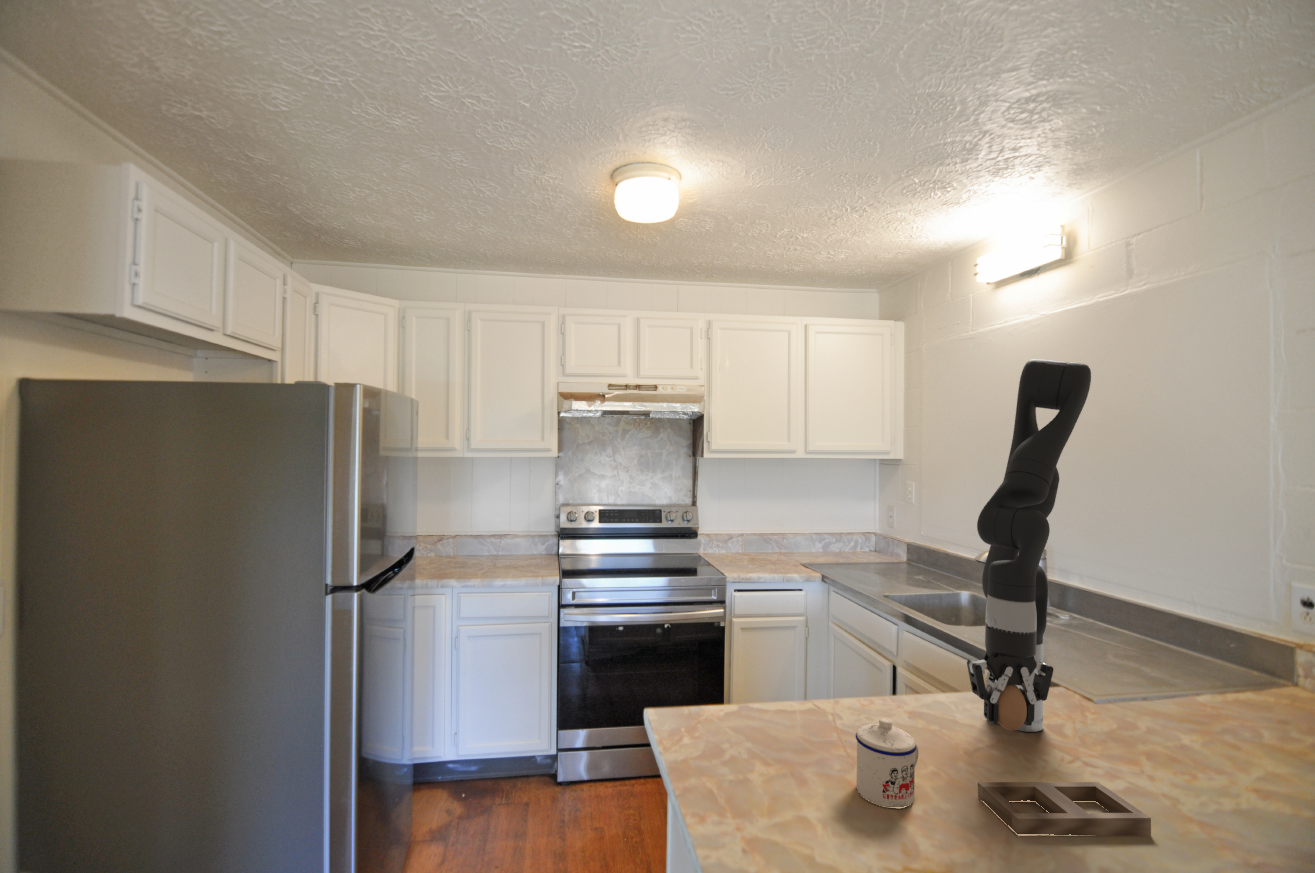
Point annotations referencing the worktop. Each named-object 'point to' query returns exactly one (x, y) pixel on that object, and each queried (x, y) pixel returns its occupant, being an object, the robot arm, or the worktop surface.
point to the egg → (1011, 708)
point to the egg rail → (1064, 809)
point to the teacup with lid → (886, 764)
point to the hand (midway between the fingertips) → (1008, 722)
